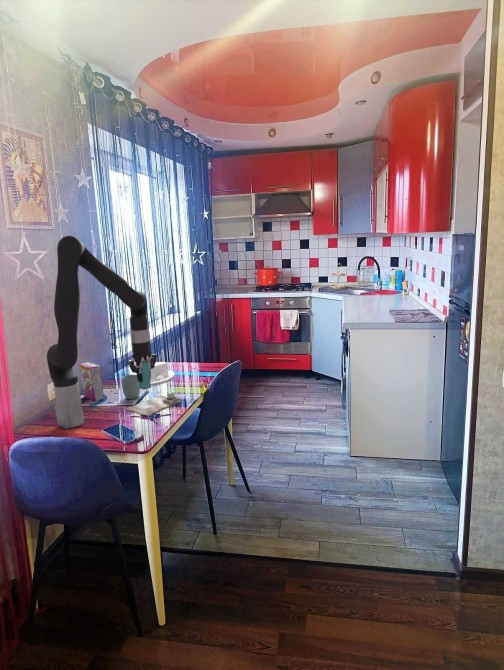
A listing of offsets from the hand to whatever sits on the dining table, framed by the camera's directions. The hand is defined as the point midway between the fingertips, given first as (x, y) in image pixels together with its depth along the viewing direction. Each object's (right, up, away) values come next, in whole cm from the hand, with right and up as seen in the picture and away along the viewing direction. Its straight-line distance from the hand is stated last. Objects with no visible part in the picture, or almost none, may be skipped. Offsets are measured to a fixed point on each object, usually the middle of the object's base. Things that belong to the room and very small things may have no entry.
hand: (144, 380), depth 195 cm
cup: (-11, -10, +23) cm, 28 cm away
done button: (+9, -9, +12) cm, 18 cm away
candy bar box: (-30, -11, +26) cm, 41 cm away
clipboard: (+2, -12, +10) cm, 16 cm away
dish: (-8, -4, +51) cm, 52 cm away
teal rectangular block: (0, -3, +1) cm, 3 cm away
